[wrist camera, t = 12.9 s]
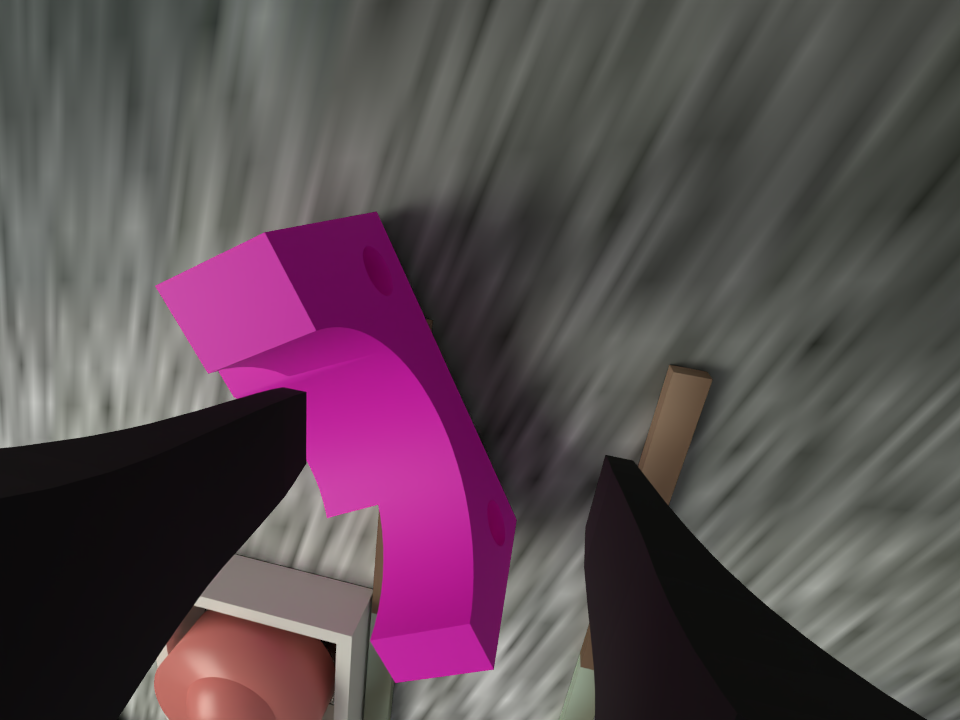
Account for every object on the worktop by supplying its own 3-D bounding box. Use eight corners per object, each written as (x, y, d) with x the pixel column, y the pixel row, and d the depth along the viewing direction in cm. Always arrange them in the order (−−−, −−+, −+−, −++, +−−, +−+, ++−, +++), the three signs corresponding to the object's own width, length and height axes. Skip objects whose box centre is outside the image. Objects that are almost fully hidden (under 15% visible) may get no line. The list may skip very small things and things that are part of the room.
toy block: (252, 269, 21) (91, 317, 14) (376, 211, 19) (265, 232, 12) (401, 546, 25) (336, 690, 18) (516, 519, 23) (493, 669, 16)
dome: (350, 602, 28) (295, 708, 22) (345, 704, 31) (296, 819, 25) (206, 564, 29) (119, 658, 23) (216, 668, 32) (142, 771, 26)
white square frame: (374, 589, 27) (351, 636, 24) (364, 722, 31) (344, 774, 29) (185, 541, 28) (143, 581, 26) (200, 675, 33) (166, 721, 30)
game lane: (707, 371, 20) (712, 379, 19) (547, 835, 32) (547, 850, 32) (399, 313, 21) (393, 318, 20) (362, 779, 34) (357, 793, 33)
